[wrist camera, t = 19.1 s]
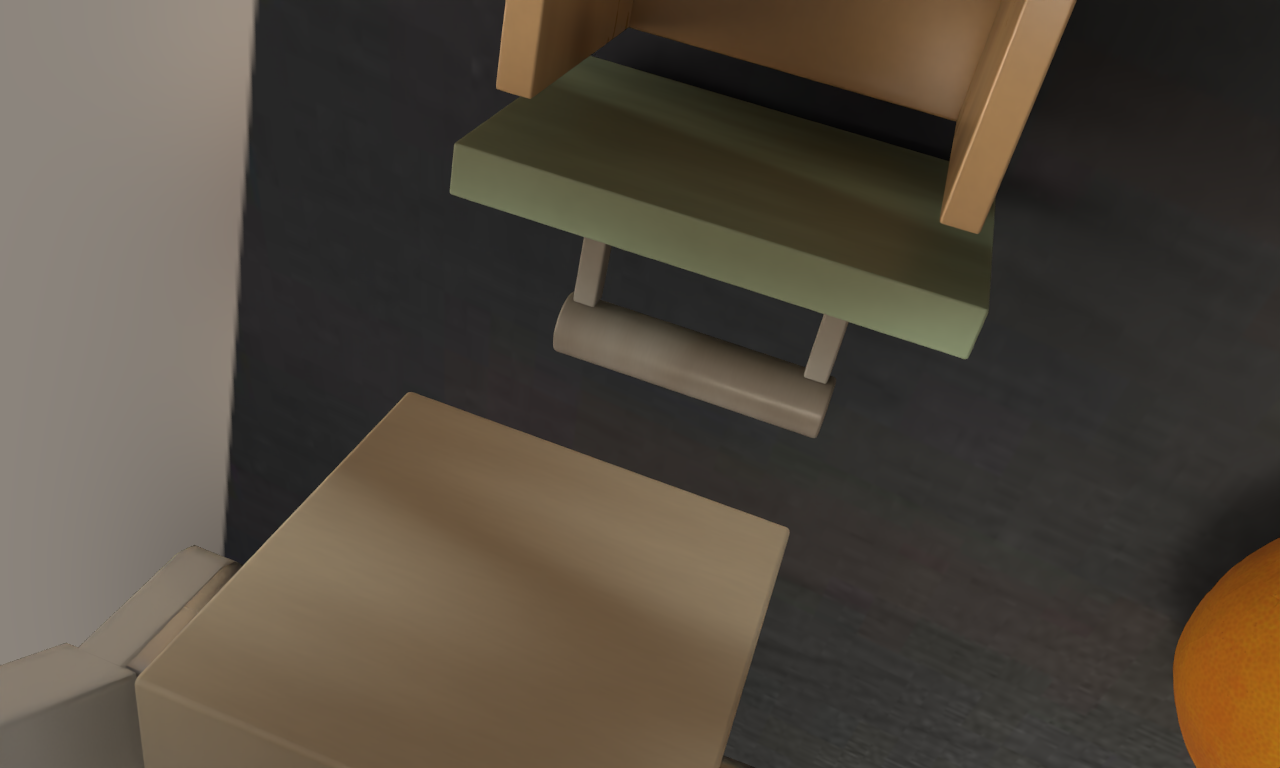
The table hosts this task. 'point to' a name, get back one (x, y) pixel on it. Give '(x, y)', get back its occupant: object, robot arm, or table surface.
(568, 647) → the block
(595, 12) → the drawer
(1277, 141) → the table surface
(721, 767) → the robot arm
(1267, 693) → the fruit
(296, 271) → the table surface
